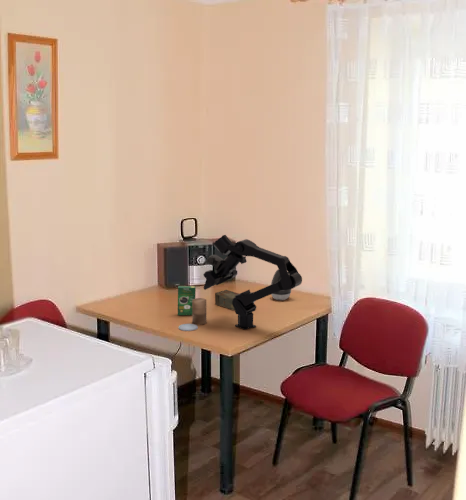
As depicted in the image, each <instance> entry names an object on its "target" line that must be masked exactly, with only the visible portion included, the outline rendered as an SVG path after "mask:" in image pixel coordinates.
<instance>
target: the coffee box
mask: <svg viewBox="0 0 466 500" xmlns="http://www.w3.org/2000/svg"><path fill="white" fill-rule="evenodd" d="M193 299H196V286H194V285H178V287H177V316H192V300H193Z"/></svg>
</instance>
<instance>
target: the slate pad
mask: <svg viewBox="0 0 466 500" xmlns="http://www.w3.org/2000/svg"><path fill="white" fill-rule="evenodd" d="M198 326H199V325H196V324H193V323H182V324H180V325H179V326H178V330H180V331H183V332H192V331H195V330H198V329H199V328H198Z"/></svg>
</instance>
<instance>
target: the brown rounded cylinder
mask: <svg viewBox="0 0 466 500" xmlns="http://www.w3.org/2000/svg"><path fill="white" fill-rule="evenodd" d="M191 316H192V323H191V324H195V325H197V326H201V325H206V324H207V299H206V298H201V297H198V298H196V297H195V299H193V300H192V315H191Z"/></svg>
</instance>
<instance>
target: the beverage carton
mask: <svg viewBox="0 0 466 500" xmlns="http://www.w3.org/2000/svg"><path fill="white" fill-rule="evenodd" d="M237 294H240V293H239V292H235V291H231V290H227V289H225V290H219V291H217V292H215V293H214V305H216V306H219V307H223V308H226V309H228V310H231V311H235V309H234V307H233V304H232V301H233V298H235V295H237Z"/></svg>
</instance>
